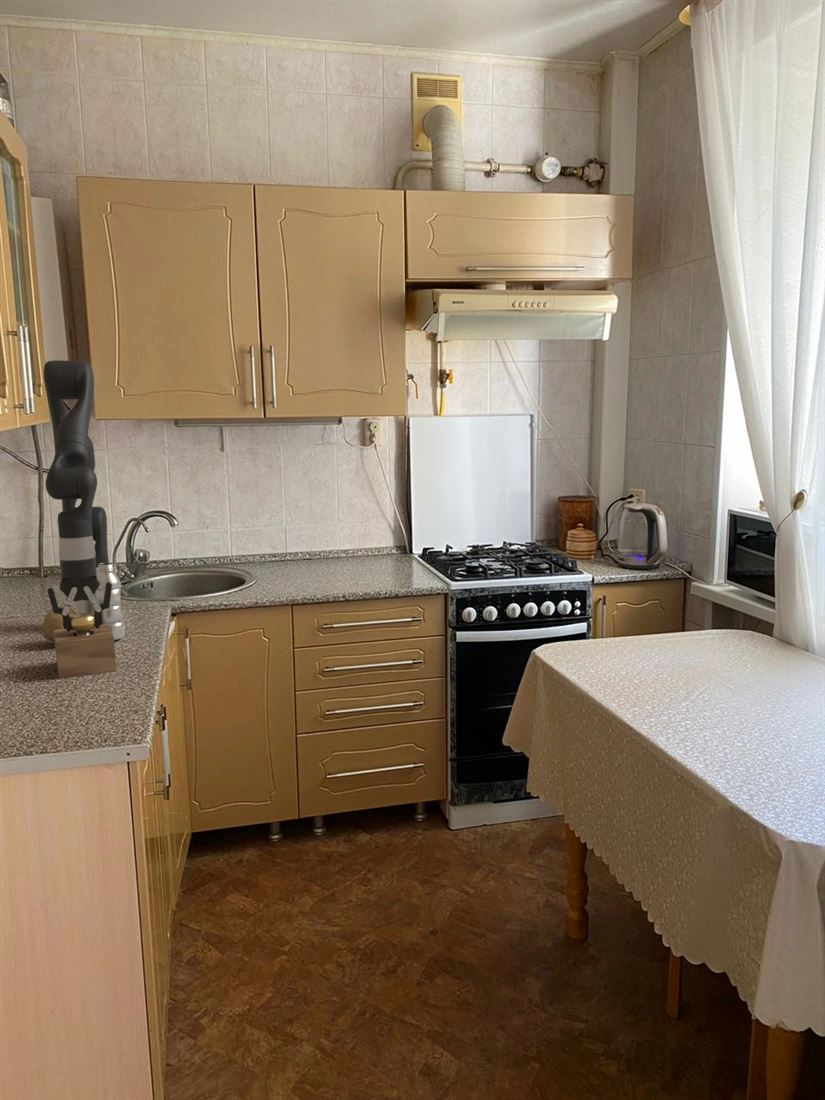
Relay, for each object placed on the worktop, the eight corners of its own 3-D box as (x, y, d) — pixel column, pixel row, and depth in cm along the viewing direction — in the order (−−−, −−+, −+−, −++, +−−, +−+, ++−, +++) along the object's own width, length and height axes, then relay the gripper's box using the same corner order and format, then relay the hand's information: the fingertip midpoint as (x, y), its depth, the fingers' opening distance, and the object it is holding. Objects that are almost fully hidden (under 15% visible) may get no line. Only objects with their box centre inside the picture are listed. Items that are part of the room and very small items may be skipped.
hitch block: (56, 663, 195) (54, 630, 194) (110, 656, 200) (108, 624, 199) (58, 678, 184) (55, 643, 182) (116, 671, 189) (113, 636, 187)
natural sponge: (86, 645, 211) (83, 606, 210) (49, 651, 206) (46, 612, 204) (75, 638, 218) (72, 601, 217) (39, 644, 213) (36, 606, 211)
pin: (71, 655, 193) (68, 614, 191) (97, 652, 195) (94, 611, 194) (72, 661, 188) (69, 619, 186) (99, 658, 190) (96, 616, 189)
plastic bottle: (117, 635, 221) (110, 560, 217) (131, 638, 216) (124, 563, 213) (94, 640, 216) (87, 564, 212) (108, 644, 211) (101, 567, 208)
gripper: (109, 551, 194) (114, 622, 197) (42, 556, 188) (48, 629, 191) (112, 556, 188) (117, 629, 190) (43, 561, 182) (49, 636, 184)
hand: (83, 628), depth 191 cm, fingers closed on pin, 5 cm apart
